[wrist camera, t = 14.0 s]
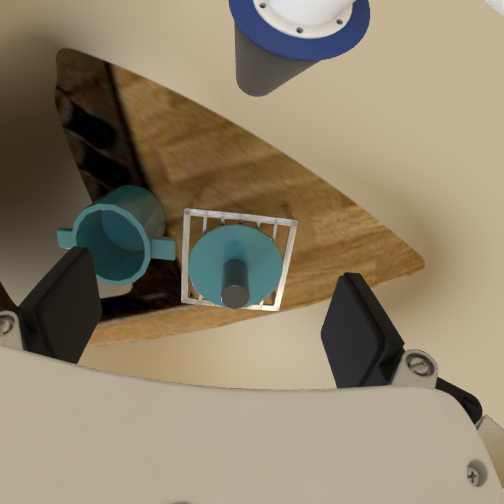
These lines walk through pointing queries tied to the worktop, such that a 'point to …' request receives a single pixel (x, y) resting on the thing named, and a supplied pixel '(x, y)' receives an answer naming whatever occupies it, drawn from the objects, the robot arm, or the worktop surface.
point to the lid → (235, 266)
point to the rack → (241, 217)
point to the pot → (121, 234)
